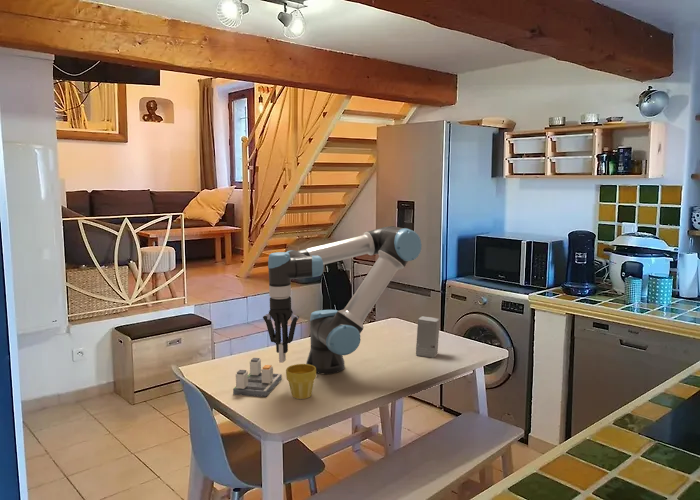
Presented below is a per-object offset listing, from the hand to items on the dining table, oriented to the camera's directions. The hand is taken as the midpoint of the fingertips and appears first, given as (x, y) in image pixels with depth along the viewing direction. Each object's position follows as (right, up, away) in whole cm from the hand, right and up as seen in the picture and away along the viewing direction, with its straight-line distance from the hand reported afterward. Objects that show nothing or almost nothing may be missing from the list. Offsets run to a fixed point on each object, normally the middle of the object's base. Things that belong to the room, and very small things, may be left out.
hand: (282, 361), depth 199 cm
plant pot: (+7, -11, -5) cm, 14 cm away
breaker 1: (-14, -8, -3) cm, 16 cm away
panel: (-9, -10, +3) cm, 14 cm away
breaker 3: (-6, -8, +2) cm, 10 cm away
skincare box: (+57, -5, +38) cm, 69 cm away
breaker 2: (-11, -6, +10) cm, 16 cm away
